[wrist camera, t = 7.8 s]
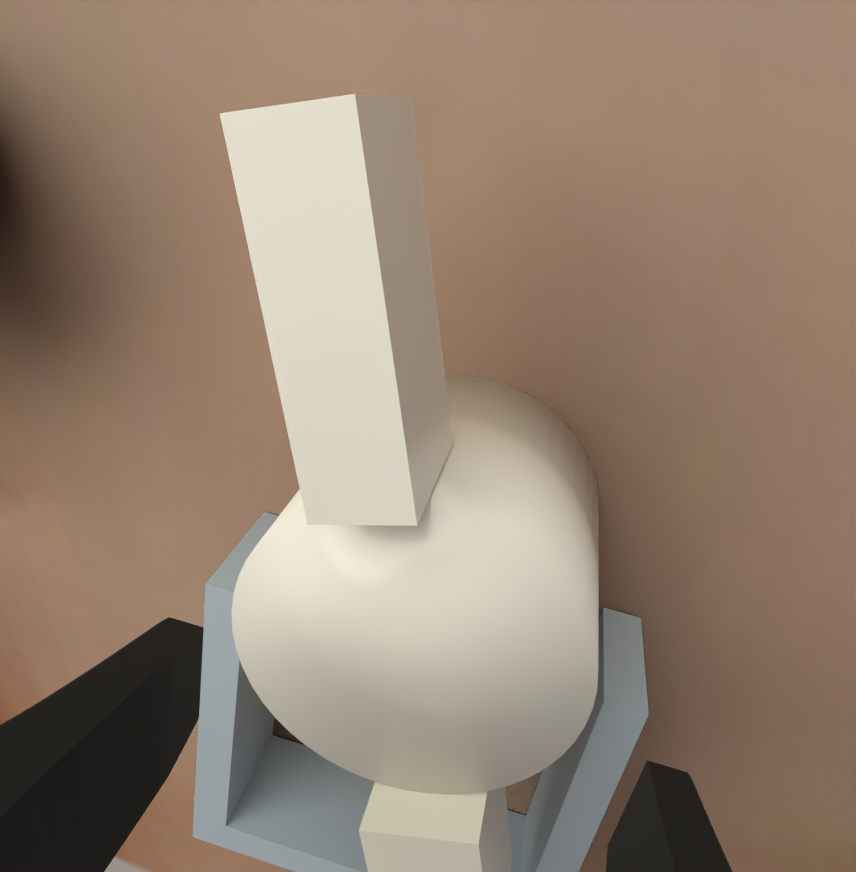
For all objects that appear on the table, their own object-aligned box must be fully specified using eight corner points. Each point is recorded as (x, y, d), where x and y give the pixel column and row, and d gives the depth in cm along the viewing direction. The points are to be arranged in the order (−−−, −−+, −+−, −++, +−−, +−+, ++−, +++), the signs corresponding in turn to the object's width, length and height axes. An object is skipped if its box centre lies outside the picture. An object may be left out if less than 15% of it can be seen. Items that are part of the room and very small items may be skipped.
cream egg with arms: (261, 123, 16) (45, 137, 10) (586, 79, 14) (576, 62, 8) (377, 721, 23) (293, 953, 17) (605, 738, 21) (608, 1004, 15)
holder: (640, 617, 19) (648, 715, 16) (549, 845, 23) (541, 955, 20) (264, 512, 20) (205, 583, 17) (242, 746, 25) (192, 837, 22)
